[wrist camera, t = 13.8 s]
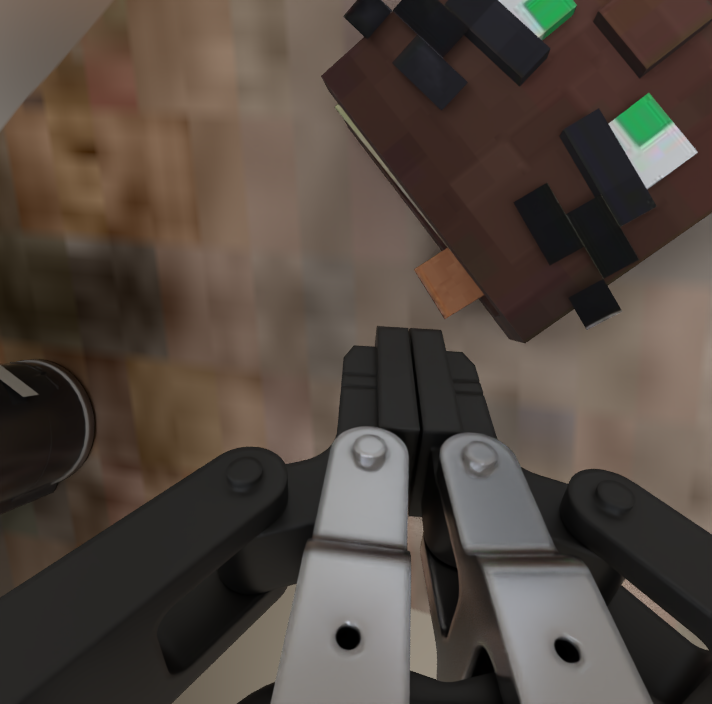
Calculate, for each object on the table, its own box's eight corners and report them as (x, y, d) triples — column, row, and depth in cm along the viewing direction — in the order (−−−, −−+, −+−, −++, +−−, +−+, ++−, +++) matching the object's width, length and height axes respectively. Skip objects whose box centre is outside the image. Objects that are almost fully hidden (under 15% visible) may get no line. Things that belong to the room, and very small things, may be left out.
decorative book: (1202, -87, 18) (500, 394, 23) (981, 35, 25) (489, 377, 31) (848, -458, 19) (265, 82, 25) (737, -239, 26) (308, 138, 32)
